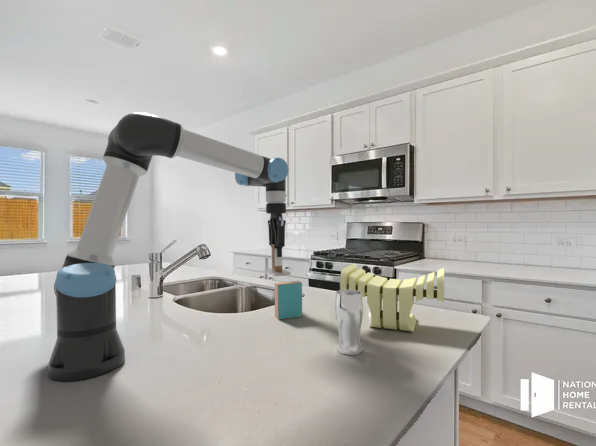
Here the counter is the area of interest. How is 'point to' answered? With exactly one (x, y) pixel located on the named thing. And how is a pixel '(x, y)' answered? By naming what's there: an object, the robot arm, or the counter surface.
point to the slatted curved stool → (391, 295)
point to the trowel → (276, 269)
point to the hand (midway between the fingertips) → (276, 264)
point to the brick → (288, 299)
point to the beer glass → (349, 320)
